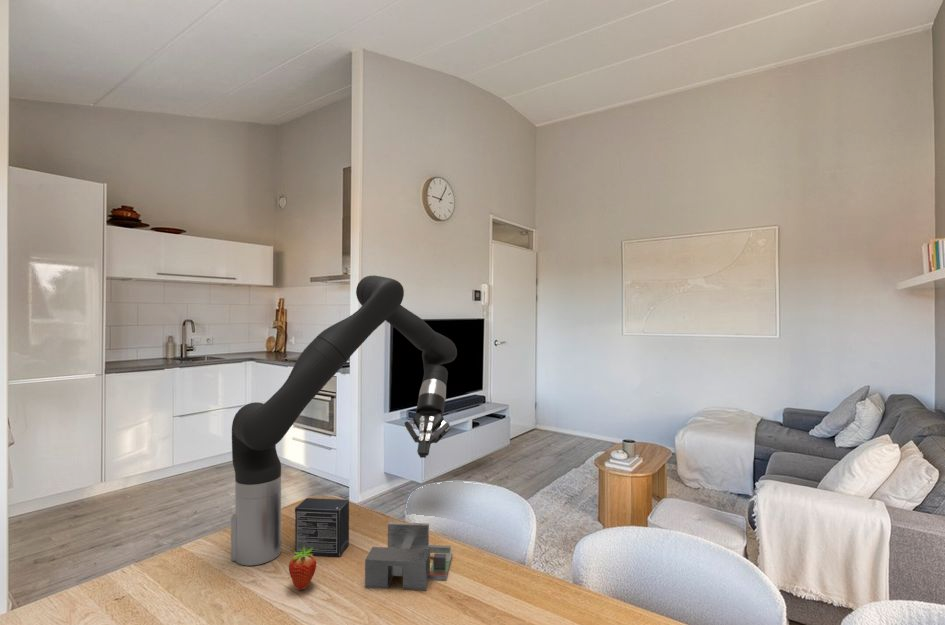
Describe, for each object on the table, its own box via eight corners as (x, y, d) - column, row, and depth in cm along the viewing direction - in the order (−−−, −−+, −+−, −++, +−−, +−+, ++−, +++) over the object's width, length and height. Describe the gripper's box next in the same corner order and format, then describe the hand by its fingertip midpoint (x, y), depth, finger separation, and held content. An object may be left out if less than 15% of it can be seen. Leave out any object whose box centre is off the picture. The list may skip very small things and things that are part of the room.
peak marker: (433, 568, 99) (433, 557, 99) (434, 564, 100) (434, 553, 100) (445, 568, 98) (445, 557, 98) (446, 565, 100) (446, 554, 100)
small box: (350, 543, 111) (350, 498, 111) (340, 557, 105) (340, 510, 105) (306, 540, 112) (306, 496, 112) (293, 555, 106) (293, 507, 106)
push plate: (375, 581, 95) (375, 546, 95) (388, 553, 106) (388, 521, 106) (443, 584, 94) (444, 549, 94) (450, 556, 105) (450, 524, 105)
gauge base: (365, 587, 94) (365, 559, 94) (383, 551, 107) (383, 527, 107) (443, 591, 92) (443, 563, 92) (452, 554, 106) (452, 530, 106)
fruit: (283, 588, 93) (283, 547, 93) (307, 577, 97) (307, 538, 97) (297, 599, 90) (297, 557, 90) (322, 587, 94) (322, 546, 93)
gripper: (406, 391, 134) (394, 448, 122) (452, 391, 132) (445, 450, 120) (411, 405, 139) (400, 462, 128) (456, 406, 137) (449, 463, 126)
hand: (422, 456), depth 124 cm, fingers closed
